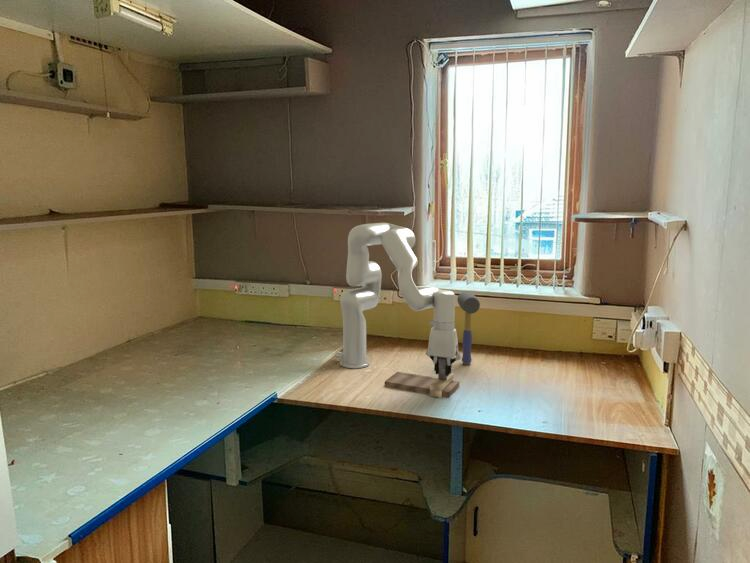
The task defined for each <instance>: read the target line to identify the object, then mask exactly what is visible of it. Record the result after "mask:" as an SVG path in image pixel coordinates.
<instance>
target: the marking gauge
mask: <svg viewBox="0 0 750 563" xmlns="http://www.w3.org/2000/svg"><path fill="white" fill-rule="evenodd" d="M446 365H447V358H444V357H439V367H438V374H437V375H438V376H437V377H436V378H437V379H436V380H435V381H434V382H433V383H432V382H431V383H430V394H429V396H430V397H435V398H441V397H443V396H442V390H443V389H444V388H445V387H446V386H447V385H448V384H449V383H450V382H451V381H452V380H454V379H455V376H454V375H455V374H454V373H452V372H451V373H450V374H449V375H448V376H446Z"/></svg>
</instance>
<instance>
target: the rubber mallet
mask: <svg viewBox="0 0 750 563" xmlns="http://www.w3.org/2000/svg"><path fill="white" fill-rule="evenodd" d="M457 304H458V305H459V307H460V309H462V311H464V330H463V333H462V356H461V361H462V364H463V365H471V363H472V343H473V336H472V333H473V332H472V314H475V313H477V312H478V311H479V309H480V307H481V305H480V304H481V303H480V301H479V299H478V298H477V297H476V295H475V294H473V293H471V292H469V291H462V292H461V293H460V294H459V295H458V296H457Z"/></svg>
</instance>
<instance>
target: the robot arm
mask: <svg viewBox="0 0 750 563" xmlns="http://www.w3.org/2000/svg"><path fill="white" fill-rule="evenodd" d="M415 244H416V235H415V234H414V232H413V231H412V230H411V229H410V228H408V227H404V226H401V225H396V224H392V223H389V222H374V223H364V224H363V223H362V224H360V225H356V226H354V227H353V228H351V230H350V231H349V232H348V236H347V251H348V252H347V260H346V261H347V262H346V271H345V272H346V274H345V275H346V276H345V278H346V283H347V284H348V285H349V286H350V287H352V289H348V290H345V291H344V292H343V293H342V295H341V297H340V301H339V302H340V307H341V313H342V330H343V331H342V332H343V333H342V335H343V336H342V339H343V340H342V342H343V343H342V345H343V346H342V348H343V349H342V352H341V351H338V350H337V351H335V357H336V358H340V360H339V365H340V366H341V367H343V368H347V369H362V368H366V367H369V365H370V364H371V361H370V359H369V358H367V321H366V317H365V316H364V313H363V312H364V311H367V310H372V309H374V308H375V307H377V306H378V304H379V302H380V299H381V298H380V297H381V296H380V295H381V288H382V279H383V278H382V276H383V275H382V274H383V273H382V270H381V266H380V265H379V264H378V263H377V262H376V261H372V260H369V259H370V252H369V248H368V246H377V245H378V246H379V245H382V247H383V249H384V250H385V252H386V253H387V256H389V259H390V260H391V263H392V264H393V265H394V267H395V268H396V270H397V286H398V290H399V293H400V295H401V296H402V298H403V300H404V301H405V303H406V305H407V306H408V307H409V308H410V309H411V310H413V311H415V312H420V311H424V310H427V309H433V319H432V320H431V319H430V320H429V325H432V327H431V328H430V332H429V338H428V347H427V349H426V351H425V355H426V356H427V357H428V358H429V359H431V361H432V362H433V364H434V368H433V370H434V372H435V374H434V375H438V367H439V357H444V358H447V365H446V376H448V375H449V374H450V373H452V366H453V365H452V364H453V363H455V362H457V361H459V360H462V356H461V354H460V351H459V342H458V341H459V340H458V333H457V329H456V328H455V324H456V323H455V321H456V320H455V319H456V316H455V315H456V293H454V291H452V290H445V289H441V288H437V287H434V286H429V287H425V288H419V289H418V287H417V285H416V283H415V281H414V279H413V270H414V268H416V267H417V265H418V263H419V260H418V258H417V256H416V254H414V251H413V249H412V248H413V247H414V246H415ZM353 287H354V288H353ZM356 287H357V288H356Z"/></svg>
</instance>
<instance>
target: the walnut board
mask: <svg viewBox="0 0 750 563" xmlns="http://www.w3.org/2000/svg"><path fill="white" fill-rule="evenodd" d="M437 378H438V377H433V376H429V375H422V374H421V375H420V374H414V373H408V372H402V371H396V372H395V373H394V374H392V375H391V376H390V377H389V378H387V379H386V380H385V381H384V387H386V388H392V389H398V390H403V391H409V392H414V393H420V394H427V395H430V383H431V382H432V383H433V382H434V381H435V380H436V379H437ZM459 387H460V381H459V380H454V379H453V380H452V381H451V382H450V383H449V384H448V385H447V386H446V387H445V388H444V389H443V390H442V396H441V397H444V398H450V397H451V396H452V395H453V394H454V393H455V391H456V390H458V389H459Z"/></svg>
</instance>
